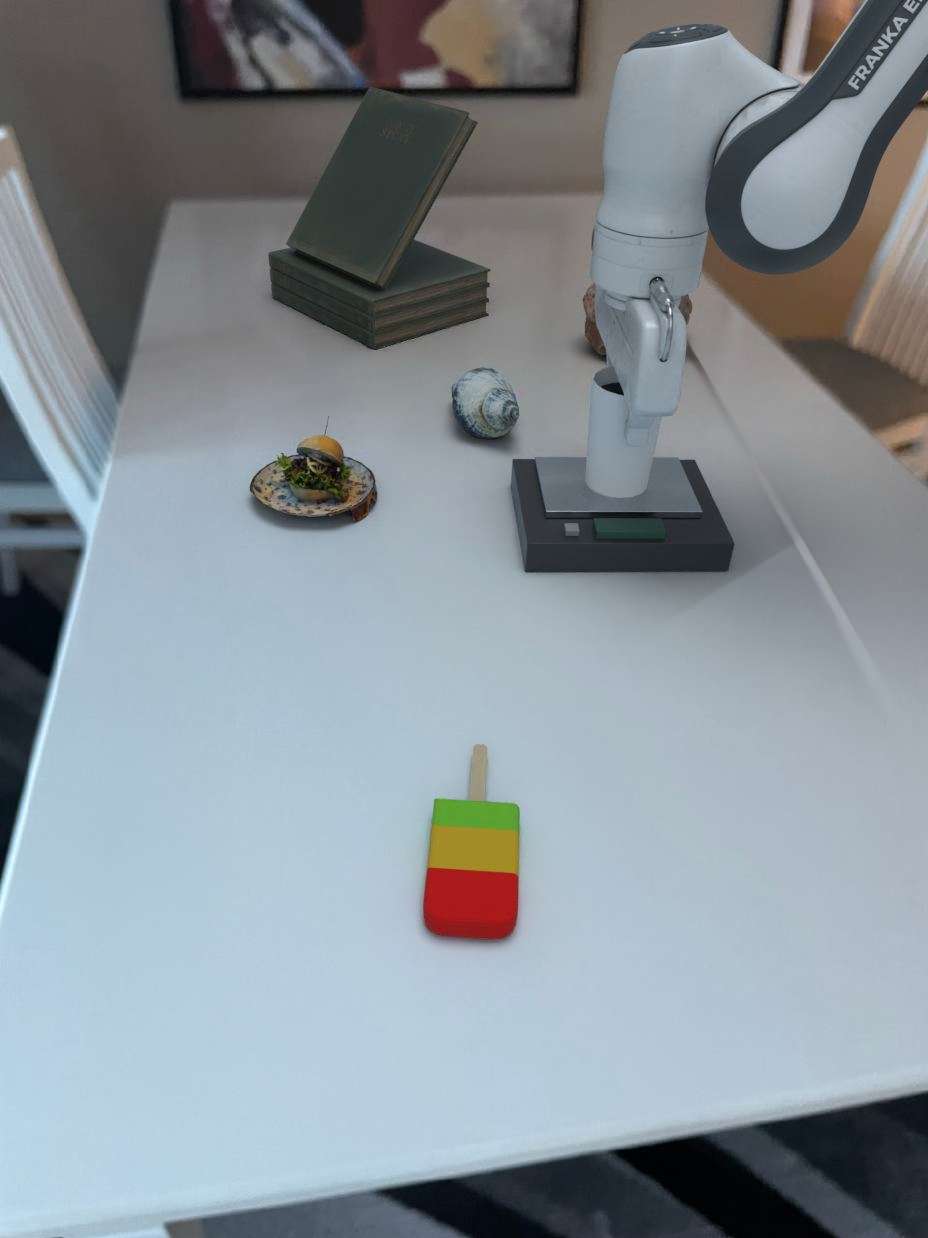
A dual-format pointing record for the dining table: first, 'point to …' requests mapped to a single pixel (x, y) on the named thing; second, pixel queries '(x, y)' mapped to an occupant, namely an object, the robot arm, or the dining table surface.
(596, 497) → the scale pan
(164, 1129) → the dining table surface
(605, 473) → the white hollow cylinder
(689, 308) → the decorative rock
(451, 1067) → the dining table surface
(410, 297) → the stack of books
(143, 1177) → the dining table surface
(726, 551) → the scale
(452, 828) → the popsicle
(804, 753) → the dining table surface
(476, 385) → the seashell
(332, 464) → the burger
